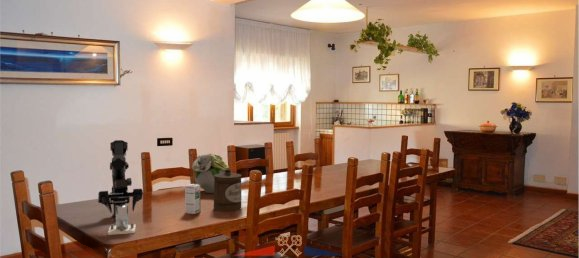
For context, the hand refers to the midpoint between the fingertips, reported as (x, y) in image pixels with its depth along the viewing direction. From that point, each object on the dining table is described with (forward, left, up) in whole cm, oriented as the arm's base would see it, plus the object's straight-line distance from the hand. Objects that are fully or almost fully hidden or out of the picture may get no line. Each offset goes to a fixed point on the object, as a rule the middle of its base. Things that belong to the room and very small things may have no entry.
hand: (122, 211), depth 208 cm
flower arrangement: (-81, +49, -9) cm, 95 cm away
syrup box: (-28, +33, -9) cm, 44 cm away
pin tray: (-1, 0, -9) cm, 9 cm away
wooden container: (-34, +52, -9) cm, 63 cm away
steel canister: (-1, 0, -8) cm, 8 cm away
